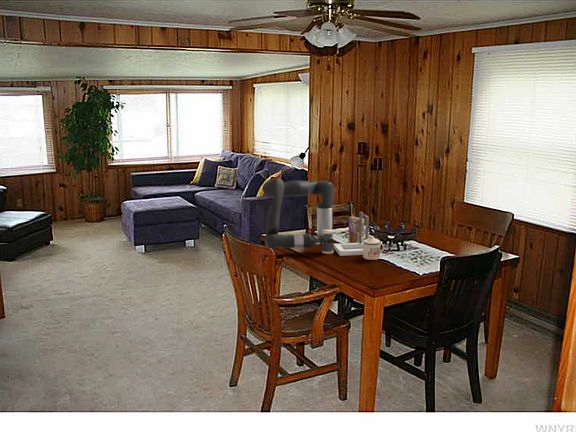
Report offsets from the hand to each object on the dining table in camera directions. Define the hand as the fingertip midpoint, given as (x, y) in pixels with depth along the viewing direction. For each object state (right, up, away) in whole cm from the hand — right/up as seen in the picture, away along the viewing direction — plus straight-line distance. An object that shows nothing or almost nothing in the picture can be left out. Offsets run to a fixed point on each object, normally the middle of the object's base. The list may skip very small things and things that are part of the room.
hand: (332, 239), depth 308 cm
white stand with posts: (+12, -6, +3) cm, 14 cm away
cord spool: (-2, -7, +1) cm, 7 cm away
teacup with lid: (+21, -9, -10) cm, 25 cm away
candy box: (+15, -3, +19) cm, 25 cm away
